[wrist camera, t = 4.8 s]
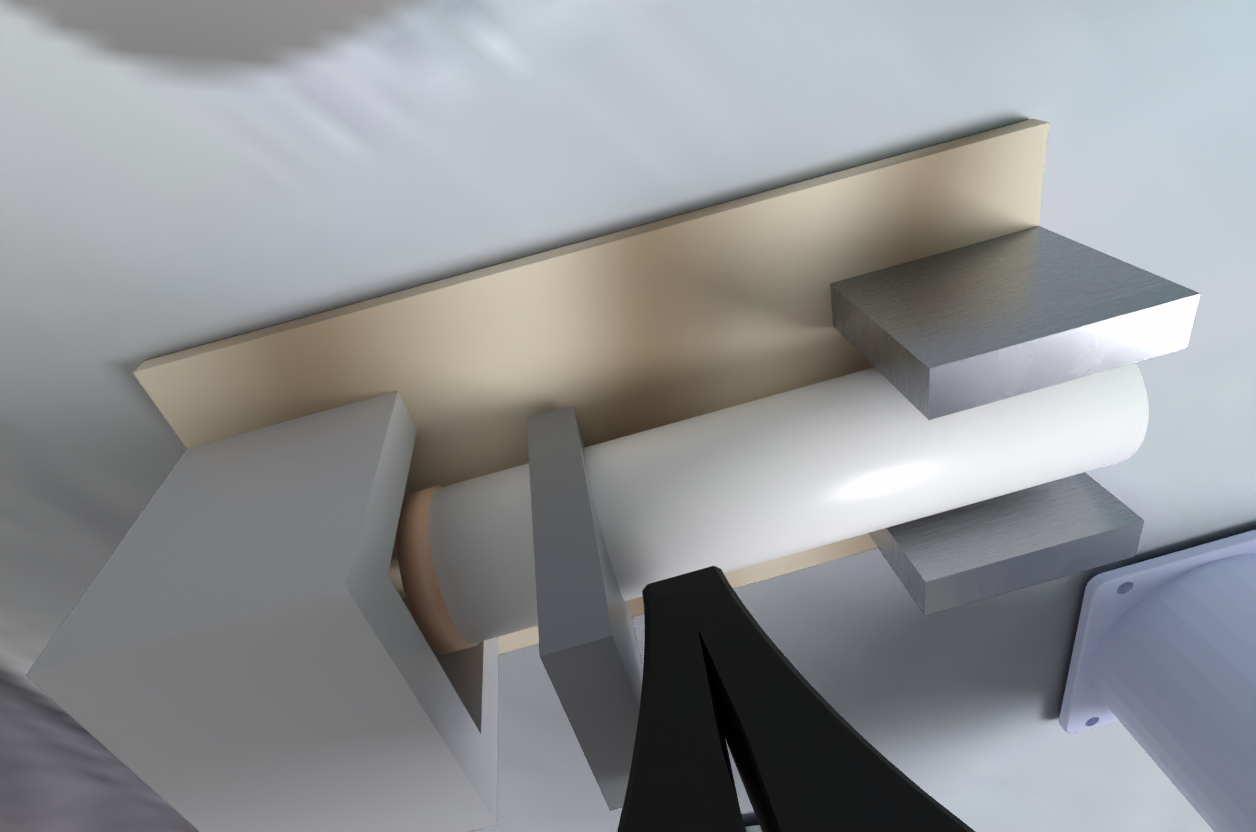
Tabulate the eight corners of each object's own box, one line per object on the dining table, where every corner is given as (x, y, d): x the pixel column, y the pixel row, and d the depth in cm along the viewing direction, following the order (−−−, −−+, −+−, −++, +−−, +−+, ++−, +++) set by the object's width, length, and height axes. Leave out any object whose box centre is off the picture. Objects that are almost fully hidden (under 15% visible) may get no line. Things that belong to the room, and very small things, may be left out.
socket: (397, 390, 14) (344, 586, 9) (498, 603, 17) (497, 824, 13) (186, 448, 14) (25, 675, 9) (329, 650, 17) (265, 890, 13)
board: (1031, 118, 14) (1049, 122, 13) (997, 499, 19) (1008, 511, 18) (144, 360, 13) (132, 372, 13) (363, 677, 19) (360, 693, 18)
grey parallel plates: (1038, 225, 14) (1200, 294, 11) (1015, 450, 17) (1134, 556, 14) (830, 283, 14) (929, 368, 11) (844, 498, 17) (925, 615, 14)
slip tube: (1042, 272, 14) (1351, 427, 9) (1025, 425, 17) (1268, 622, 11) (401, 449, 14) (341, 711, 9) (467, 581, 16) (450, 856, 11)
